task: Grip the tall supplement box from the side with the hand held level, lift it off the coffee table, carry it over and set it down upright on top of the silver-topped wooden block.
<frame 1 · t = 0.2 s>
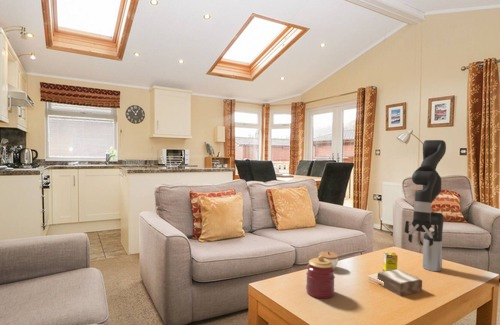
hand: (420, 244, 147), 22 cm above the table, tool pointing down, fingers open, 8 cm apart
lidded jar: (328, 268, 172), on the table
silver-topped wooden block: (398, 287, 148), on the table
supplement box: (389, 273, 167), on the table
canister: (319, 293, 141), on the table
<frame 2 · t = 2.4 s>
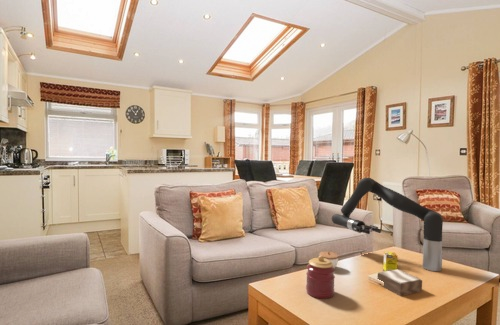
hand: (374, 231, 178), 20 cm above the table, tool horizontal, fingers open, 8 cm apart
nothing on the table moved.
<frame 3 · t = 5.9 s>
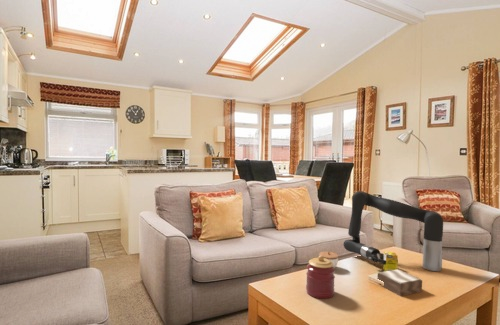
hand: (391, 262, 166), 6 cm above the table, tool horizontal, fingers open, 8 cm apart
supplement box: (389, 273, 167), on the table, touching gripper
everything else where it was.
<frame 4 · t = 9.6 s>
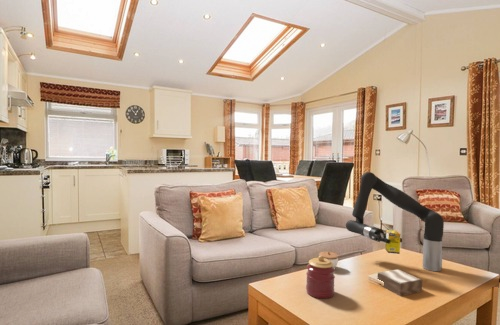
hand: (395, 241, 160), 20 cm above the table, tool horizontal, fingers closed on supplement box, 8 cm apart
supplement box: (392, 252, 162), point 13 cm above the table, touching gripper
everything else where it was.
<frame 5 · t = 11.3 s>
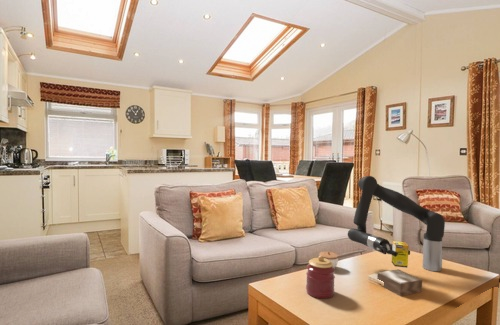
hand: (403, 253, 146), 18 cm above the table, tool horizontal, fingers closed on supplement box, 8 cm apart
supplement box: (399, 265, 148), point 11 cm above the table, touching gripper
everything else where it was.
when the fingers open (13 cm above the table, at t = 12.8 s): supplement box drops 1 cm, resting on silver-topped wooden block.
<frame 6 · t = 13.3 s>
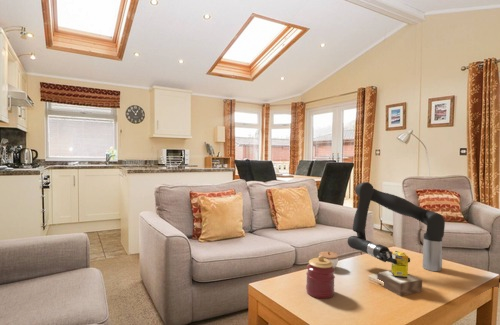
hand: (403, 261, 146), 14 cm above the table, tool horizontal, fingers open, 8 cm apart
supplement box: (399, 275, 148), point 6 cm above the table, touching silver-topped wooden block
everything else where it was.
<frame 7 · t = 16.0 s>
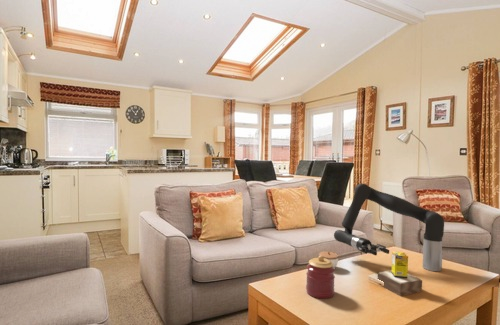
hand: (382, 252, 158), 14 cm above the table, tool horizontal, fingers open, 8 cm apart
nothing on the table moved.
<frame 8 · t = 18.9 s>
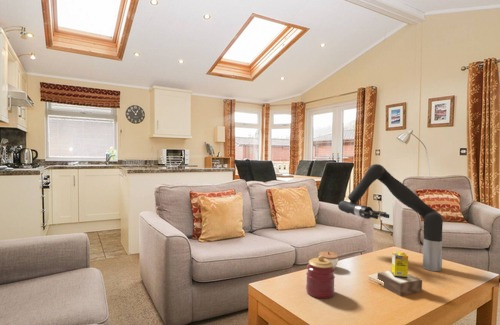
hand: (383, 216, 173), 30 cm above the table, tool horizontal, fingers open, 8 cm apart
nothing on the table moved.
at the end: supplement box inside the target area on the silver-topped wooden block (0.1 cm from its centre), point 5.8 cm above the silver-topped wooden block's base; supplement box tilted 0°; the gripper is holding nothing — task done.
